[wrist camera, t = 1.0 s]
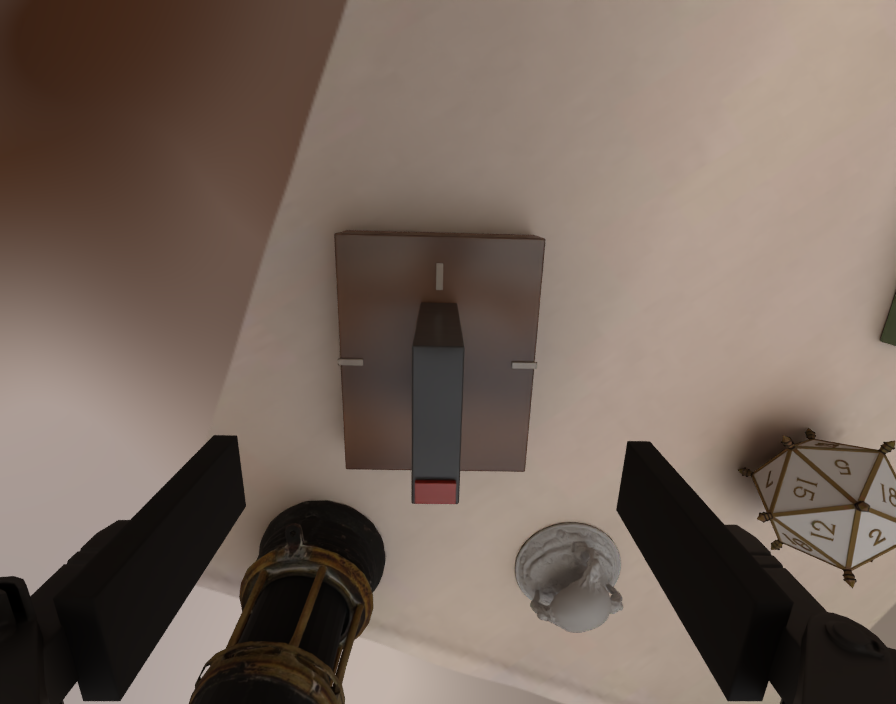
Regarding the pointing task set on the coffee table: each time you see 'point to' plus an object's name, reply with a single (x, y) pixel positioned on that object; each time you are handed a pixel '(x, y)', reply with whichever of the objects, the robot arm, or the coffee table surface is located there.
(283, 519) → the lantern
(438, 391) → the dark grey block
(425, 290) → the block
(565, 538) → the miniature
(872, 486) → the game die
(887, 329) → the button block
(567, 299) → the coffee table surface
